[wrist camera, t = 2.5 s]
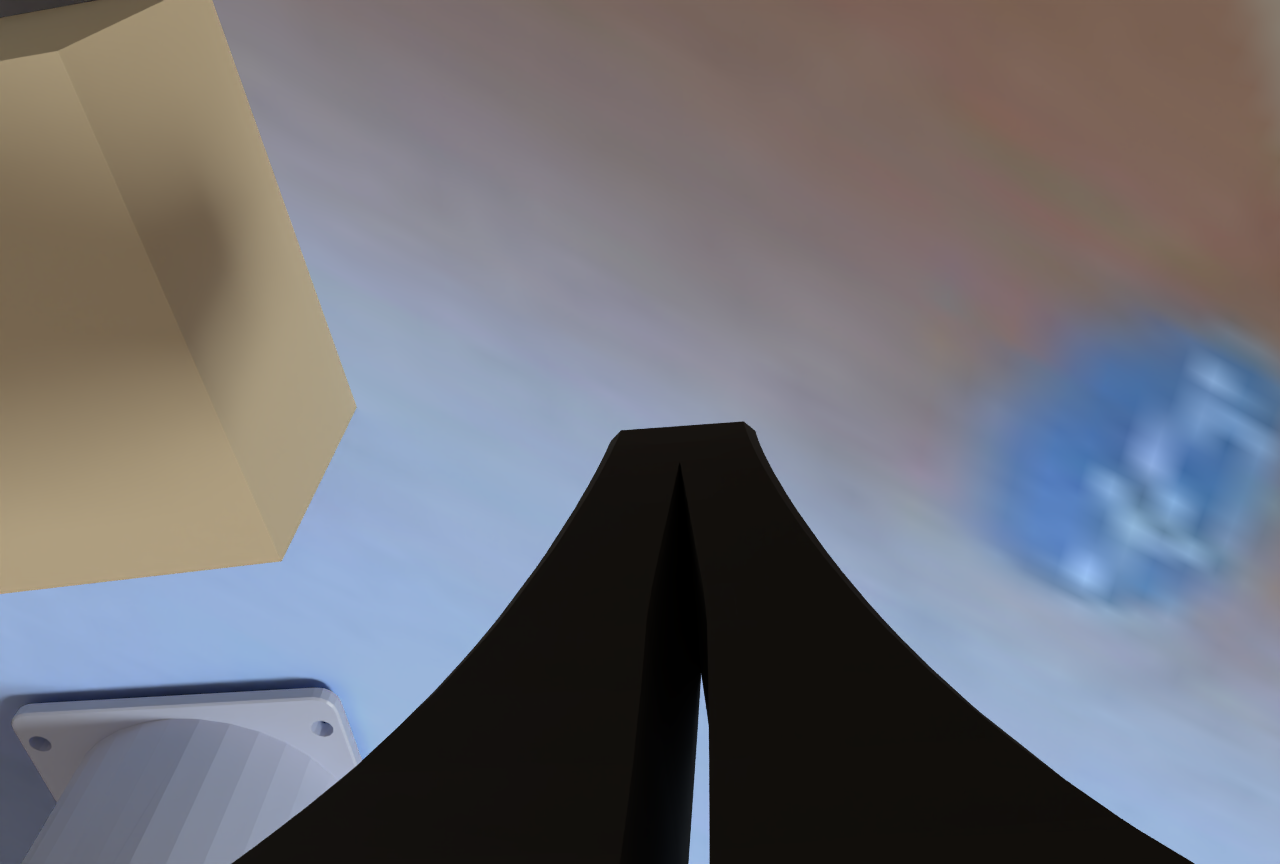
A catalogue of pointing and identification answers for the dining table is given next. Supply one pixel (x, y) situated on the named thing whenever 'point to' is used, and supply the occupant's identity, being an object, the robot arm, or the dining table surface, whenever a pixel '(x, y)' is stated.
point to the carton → (148, 307)
